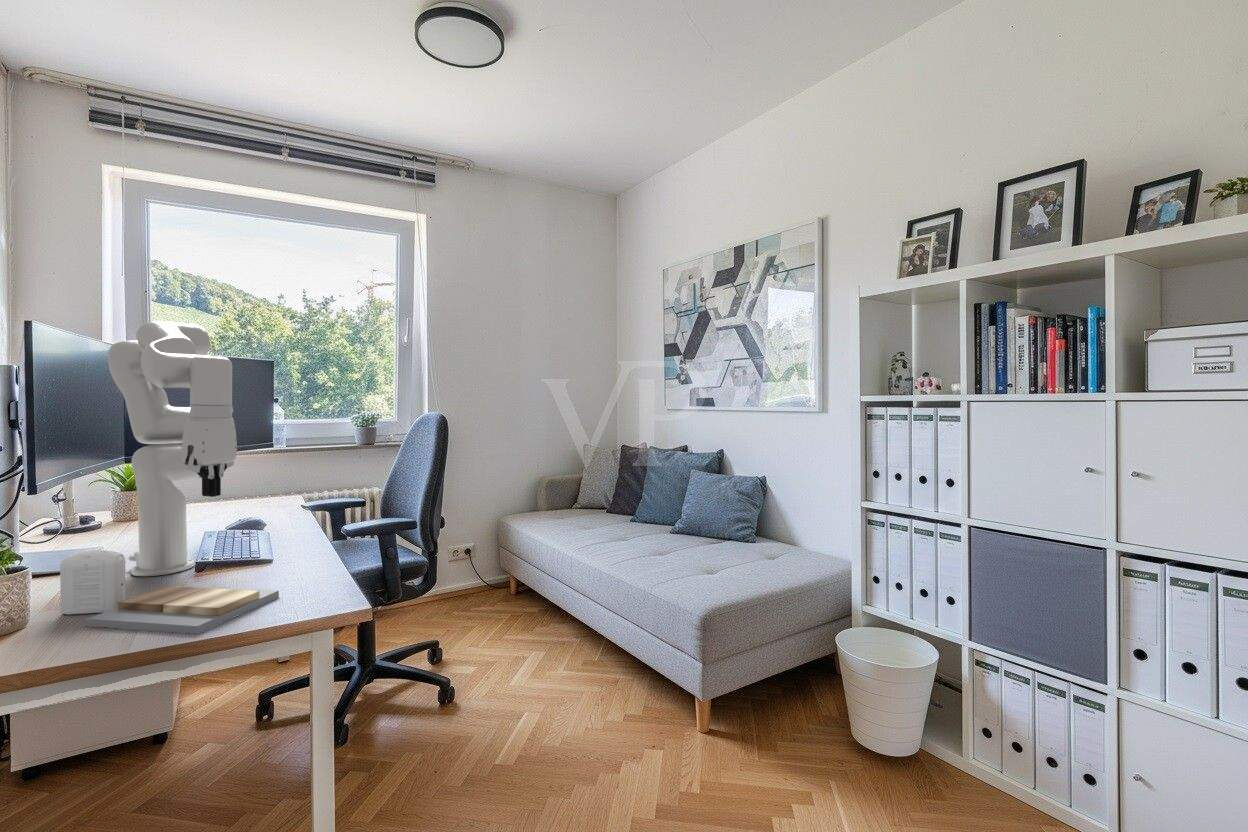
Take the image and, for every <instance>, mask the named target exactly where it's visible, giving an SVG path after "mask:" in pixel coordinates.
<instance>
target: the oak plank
mask: <svg viewBox="0 0 1248 832" xmlns="http://www.w3.org/2000/svg"><path fill="white" fill-rule="evenodd" d="M258 598H260V592H259V591H253V590H233V589H213V588H206V589H204V590H201V591H198V592H196V593H193V594H190V595H188V596H185V597H182V598H179V599H177V600H174V601H171V602H169V603H166V604H163V612H165V613H182V614H199V615H216V616H219V615H222V614H224V613H226V612H229V611H231V610H233V609H235V608H238V607H240V606H242V605H245V604H247V603H249V602H252V601H254V600H256V599H258Z"/></svg>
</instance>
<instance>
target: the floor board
mask: <svg viewBox="0 0 1248 832" xmlns="http://www.w3.org/2000/svg"><path fill="white" fill-rule="evenodd" d="M178 587H195V588H213V589H233V590H253V591H259V592H260V598H258V599H256V600H254V601H252V602H249V603H247V604H245V605H242V606H240V607H238V608H235V609H233V610H231V611H229V612H226V613H224V614H222V615H219V616H216V615H199V614H182V613H165V612H150V611H134V610H119V609H118V608H115V609H112V610H110V611H107V612H101V613H97V614H96V615H93V616H90V617H87V618H85V619H86V620H85V622H86V627H87V626H95V627H94V628H101V627H108V628H107V629H115V628H118V629H119V630H130V629H132V631H133V630H134V631H144V630H147V632H158V631H161V632H160V633H172V632H179V633H178V634H186V633H190V634H189V635H199V634H201V633H203V631H204V632H206V631H208V630H210V629H212V628H214V627H213V626H215V625H217V624H219V625H221V624H222V623H221V622H223V623H225V622H224V621H226V620H228V619H230V618H232V617H234V616H237V615H239V616H241V615H243V614H245V613H244V612H246V613H248V612H249V611H248V610H250V611H252V610H254V609H256V608H255V607H257V608H258V606H259V607H261V606H263V605H265V604H268V603H269V602H271V601H274V600H276V599H278V598H279V597H280V593H279V592H280V591H279V590H276V589H275V590H274V589H256V588H254V589H253V588H242V587H241V588H239V587H220V586H207V585H206V586H205V585H203V586H202V585H186V584H183V585H179V586H178ZM267 602H268V603H267ZM262 604H263V605H262ZM260 605H261V606H260ZM253 608H254V609H253ZM251 609H252V610H251ZM247 611H248V612H247ZM242 613H243V614H242ZM240 614H241V615H240ZM237 617H238V616H237ZM232 619H233V618H232ZM230 620H231V619H230ZM228 621H229V620H228ZM226 622H227V621H226ZM220 623H221V624H220ZM217 626H218V625H217ZM211 627H212V628H211ZM215 627H216V626H215ZM209 628H210V629H209ZM207 629H208V630H207ZM205 630H206V631H205ZM198 633H199V634H198Z"/></svg>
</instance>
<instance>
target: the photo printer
mask: <svg viewBox="0 0 1248 832" xmlns="http://www.w3.org/2000/svg"><path fill="white" fill-rule="evenodd" d="M59 570H60V571H59V575H60V577H59V578H60V579H59V580H60V583H59V584H60V586H59V587H60V614H61V615H63V614H66V615H78V614H101V613H104V612H107V611H110V610H112V609H115V608H118V602H119V601H122V600H125V599H127V598H126V596H127V594H126V558H125V555H124V554H123V553H121V552H117V551H111V550H104V549H94V550H85V551H80V552H75V553H73V554H69V555H67V556H66V555H65V556H64V557H63V558H62V560H61V562H60V567H59Z"/></svg>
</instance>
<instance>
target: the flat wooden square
mask: <svg viewBox="0 0 1248 832" xmlns="http://www.w3.org/2000/svg"><path fill="white" fill-rule="evenodd" d="M204 589H206V588H195V587H179V586H175V585H174V586H171V585H164V586H161V587H158V588H155V589H154V588H153V589H151V590H149V591H147V592H143V593H140V594H137V595H133V596H132V597H131V596H130V597H128V598H126V599H125V600H122V601H119V602H118V609H119V610H134V611H150V612H163V604H166V603H169V602H171V601H174V600H177V599H179V598H182V597H185V596H188V595H190V594H193V593H196V592H198V591H201V590H204Z"/></svg>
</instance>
